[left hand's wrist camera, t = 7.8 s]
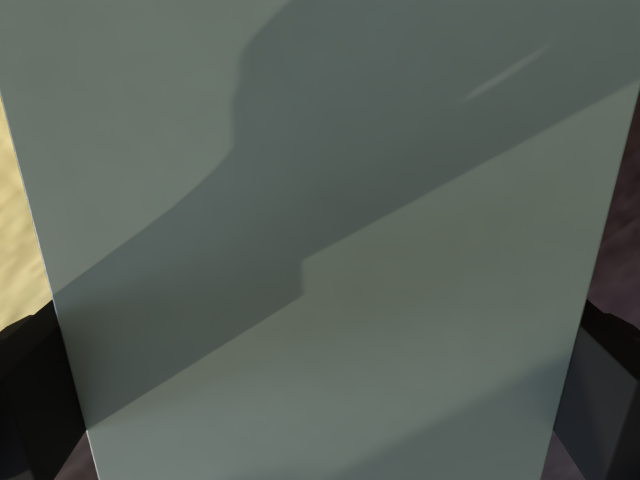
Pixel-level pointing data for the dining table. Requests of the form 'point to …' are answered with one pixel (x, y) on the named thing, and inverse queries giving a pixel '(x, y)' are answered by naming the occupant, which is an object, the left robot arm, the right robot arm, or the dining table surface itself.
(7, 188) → the dining table surface
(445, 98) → the cabinet
